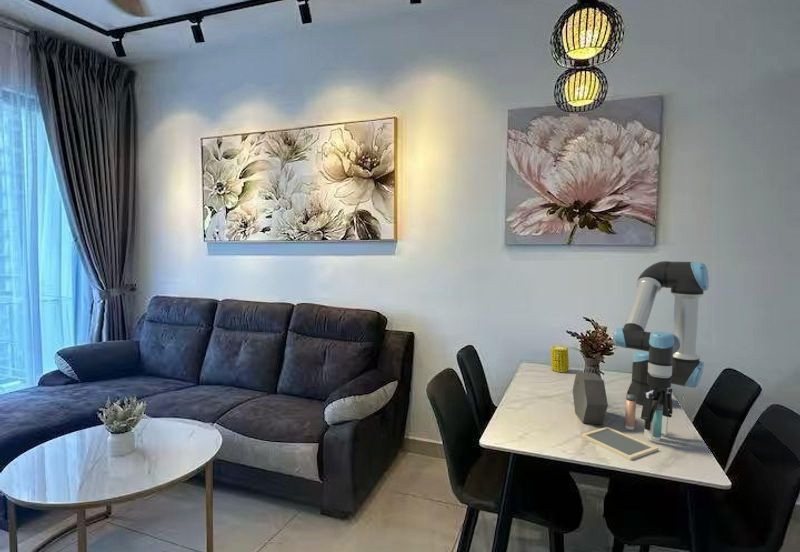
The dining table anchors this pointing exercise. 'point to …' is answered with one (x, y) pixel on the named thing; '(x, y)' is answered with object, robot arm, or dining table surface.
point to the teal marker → (657, 422)
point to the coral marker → (630, 411)
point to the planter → (589, 398)
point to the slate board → (619, 443)
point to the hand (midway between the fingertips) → (655, 435)
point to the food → (559, 358)
